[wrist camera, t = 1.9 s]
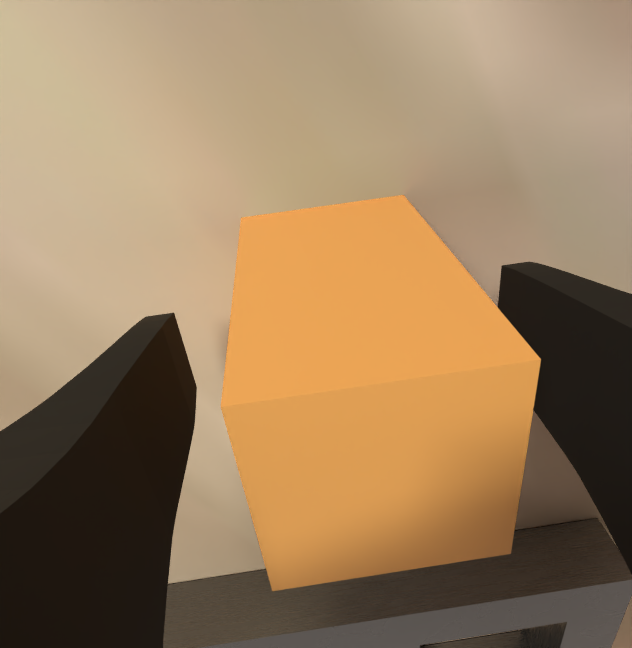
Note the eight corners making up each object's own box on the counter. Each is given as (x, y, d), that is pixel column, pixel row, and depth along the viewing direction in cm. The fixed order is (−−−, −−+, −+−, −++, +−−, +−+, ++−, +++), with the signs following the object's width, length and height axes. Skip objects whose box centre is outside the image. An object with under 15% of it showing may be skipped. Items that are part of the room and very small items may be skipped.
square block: (403, 194, 12) (541, 359, 6) (406, 332, 14) (510, 554, 8) (241, 217, 12) (220, 407, 6) (267, 352, 14) (272, 591, 8)
